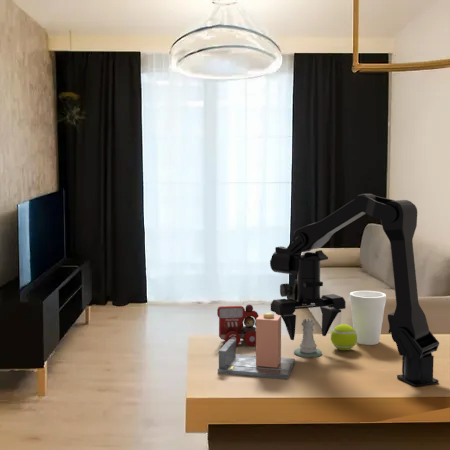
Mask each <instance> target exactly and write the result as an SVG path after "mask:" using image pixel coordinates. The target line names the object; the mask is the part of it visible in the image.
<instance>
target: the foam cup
mask: <svg viewBox="0 0 450 450" xmlns="http://www.w3.org/2000/svg"><path fill="white" fill-rule="evenodd" d="M349 303H350V311H351V318H352V319H351V320H352V326H353V327H352V328H354V330H355V331H356V334H357V342H356V344H358V345H365V346H374V345H378V344H379V343H380V340H381V332H382V328H383V327H382V326H383V320H384V312H385V307H386V306H385V305H386V304H387V294H386V293H384V292H381V291H377V290H376V291H374V290H356V291H354V290H353V291H351V292H350V293H349Z"/></svg>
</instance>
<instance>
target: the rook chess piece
mask: <svg viewBox="0 0 450 450" xmlns="http://www.w3.org/2000/svg"><path fill="white" fill-rule="evenodd" d="M301 325H302V339H301V340H300V342H301V343H300V344H299V347H300V349H299V348H298V349H299V350H300V351H301V352H302V353H308V354H310V353H315V352H316V351H317V349H318V348H317V346H318V345H317V343H316V341H315V338H314V328H313V327H314V325H315V323H314V320H313V319H310V318H308V319H306V318H305V319H302V323H301Z"/></svg>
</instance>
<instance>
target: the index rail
mask: <svg viewBox="0 0 450 450" xmlns="http://www.w3.org/2000/svg"><path fill="white" fill-rule="evenodd" d="M236 348H237V346H236V340H234V339H229V340H228V341H227V342H226V343H225V342H224V345H222V346H221V348H220V349H219V350H218V368H217V374H221V375H231V376H232V375H233V376H243V377H256V378H269V379H280V380H288V379H289V376H290V374H291V373H292V370H293V367H294V366H295V363H296V359H295V358H290V357H289V358H288V357H281V362H280V364H279V366H278V367H277V368H276V367H263V366H256V355H251V354H250V355H249V354H239V353H237V352H236V351H237V349H236Z"/></svg>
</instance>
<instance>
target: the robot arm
mask: <svg viewBox="0 0 450 450" xmlns="http://www.w3.org/2000/svg"><path fill="white" fill-rule="evenodd" d="M364 215H368V216H370V217H371V218H374V219H378V220H380V223H381V226H382V227H381V228H382V230H383V232H384V234H385V236H386V237H387V239H388V241H389V244H390V254H391V255H390V256H391V265H392V272H393V273H392V274H393V275H392V276H393V285H394V293H395V294H394V295H395V296H394V297H395V303H396V304H395V309H394V312H391V313H388V314H387V321H388V327H389V329H388V334H391V335H390V336H391V338H392V341H393V342H395V344H396V348H397V351H398V355H399V356H401V357H402V359H401V360H402V361H401V363H402V364H401V373H402V374H397V375H396V378H397V379H399V380H401V381H403V382H405V383H407V384H409V385H411V386H412V387H413V386H414V387H421V386H428V385H433V384H438V383H439V379H436V378H435V377H434V357H435V356H434V355H433V353H434V352H436V351H438V349H439V346H440V342H439V340H438V339H437V338H436V336H435V335H434V334H433V333H432V332H431V331H430V328H429V325H428V320H427V317H426V314H425V312H424V310H423V308H422V307H421V305H420V303H419V302H420V301H419V295H418V294H419V293H418V285H417V284H418V283H417V275H416V264H415V254H414V253H415V252H414V243H413V241H414V240H413V238H414V235H415V232H416V229H417V226H418V223H417V222H418V208H417V206H416V205H415V204H414V203H413V202H412V201H410V200H408V199H401V200H400V199H399V200H394V199H390V198H387V197H381V196H378V195H375V194H373V193H361V194H360V193H359V194H357V196H356V197H355V198H353V199H352V200H350V201H349V202H347V203H346V204H345V205H343V206H341V207H339V208H338V209H336V210H335V211H334V212H332V213H330V214H329V215H328V216H325V217H324V218H323V219H321V220H319V221H316V222H313V223H309V224H307V225H304V226H302V227H299V228H297V229H296V230H294V232H293V238H292V239H291V241H290V242H289V244H288V246H287V247H286V246H281V245H279V246H276V247H275V248H274V249H275V251H274V252H273V253H272V255H271V258H270V260H269V264H270V265H269V266H270V269H271V270H272V272H273V273H278V274H287V275H293V276H294V275H297V276H296V277H297V278H296V279H294V281H293V283H294V284H293V285H290V284H289V283H282V284H280V285H279V294H280V297H282V298H278V299H273V300H272V301H271V303H270V312H272V313H275V315H281V320H283V322H284V324H285V327H286V331H287V333H288V336H289V339H290V340H291V341H294V340H295V336H296V326H297V325H296V323H297V322H296V321H297V315H296V314H294V313H295V312H296V310H302V309H311V308H312V309H313V308H320V311H321V334H322V337H326V336H327V334H328V333H329V331H330V328H331V326H332V324H333V322H334V321H335V319H336V317H337V316H338V314H339V313H341V312H342V310H346V307H347V306H346V302H347V301H346V300H345V298H344V297H343V296H342V295H341V296H340V295H337V294H334V293H331V294H322V295H321V287H323V286H324V283H323V281H321V262H323V261H327V260H328V259H329V257H328V255H326V253H324V252H323V250H321V249H320V248H322V247H323V246H324V245H325V244H327V242H329V241H330V239H331V238H332V236H333V235H334V234H335V233H336V232H338V231H339V230H341V229H342V228H344V227H346V226H349V224H351V223H353V222H354V221H357V219H359V218H361V217H362V216H364ZM317 249H319V250H317ZM313 250H316V251H315V252H311V251H313ZM302 253H303V254H302ZM285 297H286V298H285ZM292 300H293V301H292Z"/></svg>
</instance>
